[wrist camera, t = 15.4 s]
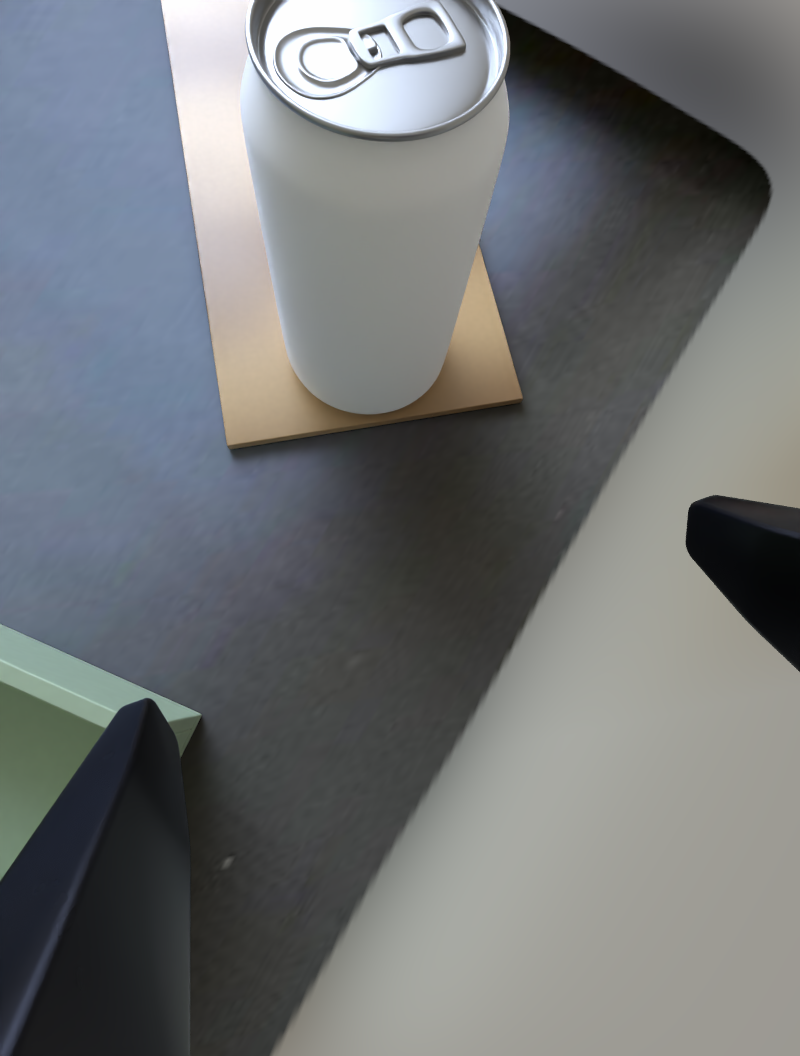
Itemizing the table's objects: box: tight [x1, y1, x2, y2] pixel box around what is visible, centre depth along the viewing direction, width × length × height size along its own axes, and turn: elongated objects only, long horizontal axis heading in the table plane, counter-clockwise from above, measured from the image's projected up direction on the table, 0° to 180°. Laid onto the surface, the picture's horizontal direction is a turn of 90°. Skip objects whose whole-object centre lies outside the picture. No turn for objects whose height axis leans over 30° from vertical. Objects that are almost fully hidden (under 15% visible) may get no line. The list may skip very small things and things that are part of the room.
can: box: [240, 0, 510, 414], centre depth 18 cm, size 6×6×12 cm
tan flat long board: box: [161, 0, 523, 449], centre depth 27 cm, size 36×12×1 cm, turn 12°
